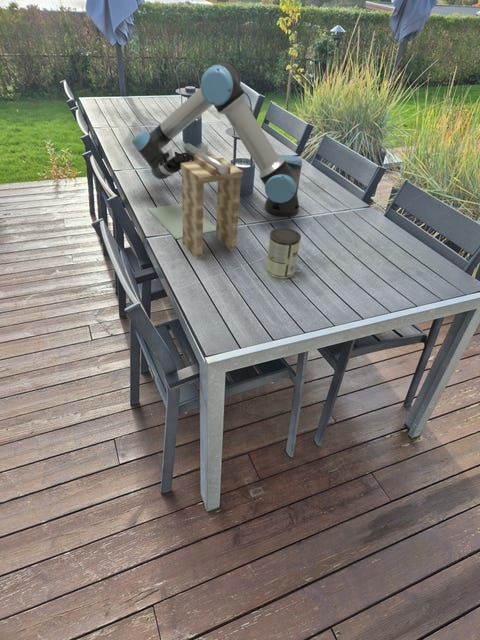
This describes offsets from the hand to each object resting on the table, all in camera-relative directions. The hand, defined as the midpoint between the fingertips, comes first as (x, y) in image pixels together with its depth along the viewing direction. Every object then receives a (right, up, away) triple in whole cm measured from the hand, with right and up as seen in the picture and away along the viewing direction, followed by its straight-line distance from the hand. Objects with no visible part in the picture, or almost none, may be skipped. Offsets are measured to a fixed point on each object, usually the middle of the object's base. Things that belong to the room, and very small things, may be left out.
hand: (191, 150), depth 153 cm
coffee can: (+31, -42, +1) cm, 52 cm away
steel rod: (+5, -7, -6) cm, 10 cm away
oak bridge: (+6, -32, +10) cm, 34 cm away
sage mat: (-7, -19, +26) cm, 33 cm away
